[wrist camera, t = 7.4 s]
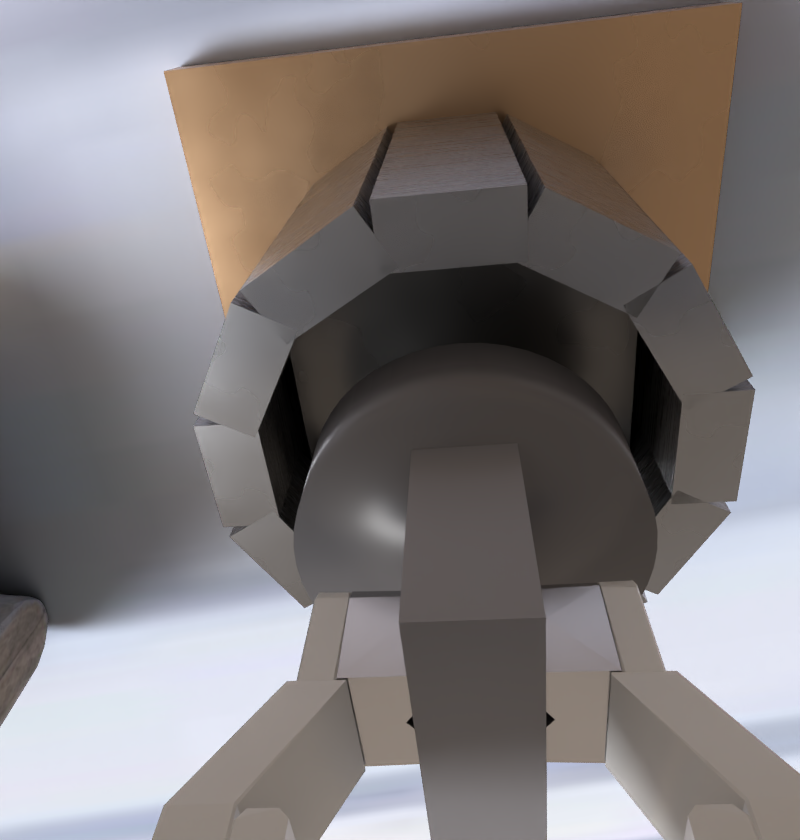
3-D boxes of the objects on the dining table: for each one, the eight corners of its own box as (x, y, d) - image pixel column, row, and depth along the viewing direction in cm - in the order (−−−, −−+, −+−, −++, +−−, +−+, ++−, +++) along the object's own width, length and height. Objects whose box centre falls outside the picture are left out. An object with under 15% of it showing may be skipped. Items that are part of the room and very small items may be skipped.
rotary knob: (286, 356, 12) (187, 577, 8) (639, 330, 12) (770, 551, 7) (337, 606, 15) (289, 876, 11) (621, 595, 15) (704, 876, 10)
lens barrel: (178, 67, 19) (-10, 119, 11) (725, 2, 18) (953, 9, 10) (280, 490, 26) (208, 705, 18) (674, 468, 25) (782, 691, 17)
